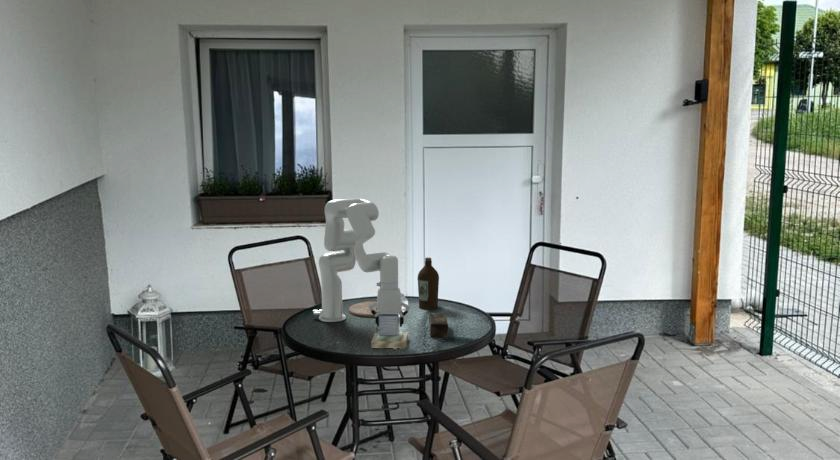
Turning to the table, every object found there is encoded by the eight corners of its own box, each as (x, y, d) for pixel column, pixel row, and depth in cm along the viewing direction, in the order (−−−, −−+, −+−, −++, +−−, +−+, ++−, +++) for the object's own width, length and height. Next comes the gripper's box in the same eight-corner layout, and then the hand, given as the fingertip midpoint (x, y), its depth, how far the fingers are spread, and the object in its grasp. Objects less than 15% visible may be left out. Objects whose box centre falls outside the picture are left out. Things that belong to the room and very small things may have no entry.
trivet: (339, 310, 363) (339, 306, 363) (381, 302, 378) (381, 299, 377) (366, 321, 343) (366, 317, 343) (410, 312, 358) (410, 308, 358)
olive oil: (428, 303, 374) (427, 255, 370) (443, 307, 367) (443, 257, 363) (413, 307, 367) (413, 258, 363) (428, 311, 359) (428, 260, 356)
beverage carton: (446, 325, 334) (446, 311, 333) (448, 338, 315) (448, 323, 314) (428, 325, 334) (428, 311, 333) (430, 338, 315) (430, 323, 314)
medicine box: (398, 333, 309) (398, 313, 307) (397, 336, 304) (397, 315, 303) (380, 332, 309) (380, 312, 308) (378, 335, 305) (378, 315, 304)
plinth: (371, 348, 301) (371, 339, 300) (375, 338, 315) (375, 329, 314) (405, 349, 300) (405, 339, 299) (407, 338, 314) (407, 329, 313)
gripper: (367, 287, 300) (367, 327, 303) (409, 287, 299) (409, 328, 302) (369, 283, 308) (370, 322, 310) (410, 283, 307) (410, 323, 309)
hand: (389, 325), depth 306 cm, fingers open, 9 cm apart
